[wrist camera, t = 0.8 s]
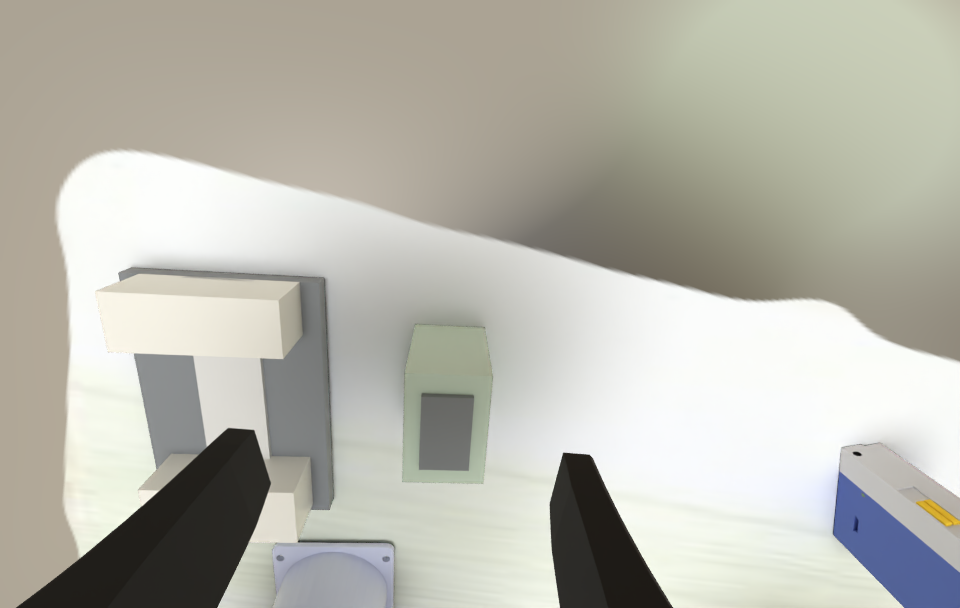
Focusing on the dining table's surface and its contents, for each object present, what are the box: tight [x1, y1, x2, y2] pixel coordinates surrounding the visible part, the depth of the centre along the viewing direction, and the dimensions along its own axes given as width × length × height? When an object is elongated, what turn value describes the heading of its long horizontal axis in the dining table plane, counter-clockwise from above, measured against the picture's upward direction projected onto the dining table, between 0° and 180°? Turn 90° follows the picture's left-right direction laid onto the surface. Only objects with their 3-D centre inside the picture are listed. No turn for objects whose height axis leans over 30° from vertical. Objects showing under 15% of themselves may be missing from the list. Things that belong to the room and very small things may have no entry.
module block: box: [402, 324, 493, 484], centre depth 24 cm, size 6×4×6 cm, turn 176°
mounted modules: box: [95, 274, 313, 543], centre depth 24 cm, size 14×8×3 cm, turn 176°
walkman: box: [833, 443, 960, 608], centre depth 26 cm, size 8×3×12 cm, turn 10°
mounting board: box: [118, 268, 334, 510], centre depth 26 cm, size 15×10×1 cm, turn 176°
